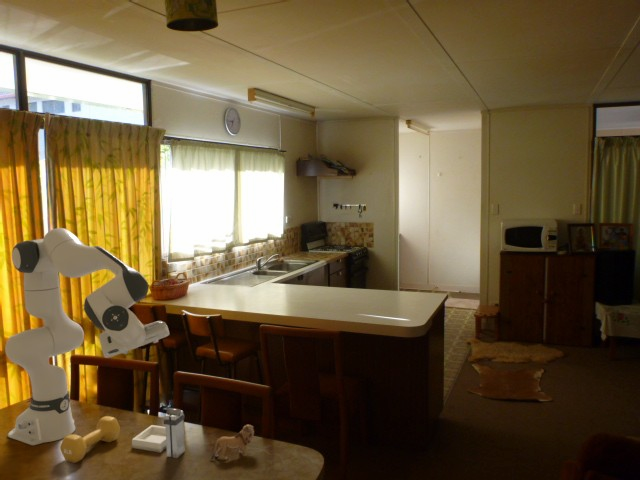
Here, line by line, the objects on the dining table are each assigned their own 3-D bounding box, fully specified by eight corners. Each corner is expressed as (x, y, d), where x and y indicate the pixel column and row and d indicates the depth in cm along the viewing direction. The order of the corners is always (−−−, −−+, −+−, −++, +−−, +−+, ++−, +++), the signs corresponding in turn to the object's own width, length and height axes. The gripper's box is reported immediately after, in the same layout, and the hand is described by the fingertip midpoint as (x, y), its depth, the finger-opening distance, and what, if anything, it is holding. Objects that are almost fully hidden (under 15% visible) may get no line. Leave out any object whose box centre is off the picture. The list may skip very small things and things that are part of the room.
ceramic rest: (132, 447, 177) (131, 439, 177) (152, 433, 188) (151, 424, 187) (160, 452, 174) (160, 443, 173) (179, 436, 184) (178, 428, 184)
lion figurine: (252, 446, 177) (251, 420, 176) (257, 453, 172) (256, 427, 171) (208, 457, 170) (207, 430, 169) (212, 465, 165) (211, 437, 164)
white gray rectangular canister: (165, 456, 171) (163, 411, 169) (174, 449, 176) (172, 405, 174) (177, 458, 169) (175, 413, 168) (186, 450, 174) (184, 406, 173)
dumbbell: (78, 466, 166) (76, 441, 165) (58, 460, 170) (56, 436, 169) (123, 439, 183) (122, 417, 182) (104, 435, 187) (103, 413, 186)
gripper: (161, 312, 161) (170, 325, 174) (93, 336, 157) (107, 348, 169) (167, 330, 159) (175, 342, 171) (98, 355, 154) (112, 366, 167)
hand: (141, 345), depth 170 cm, fingers open, 8 cm apart
